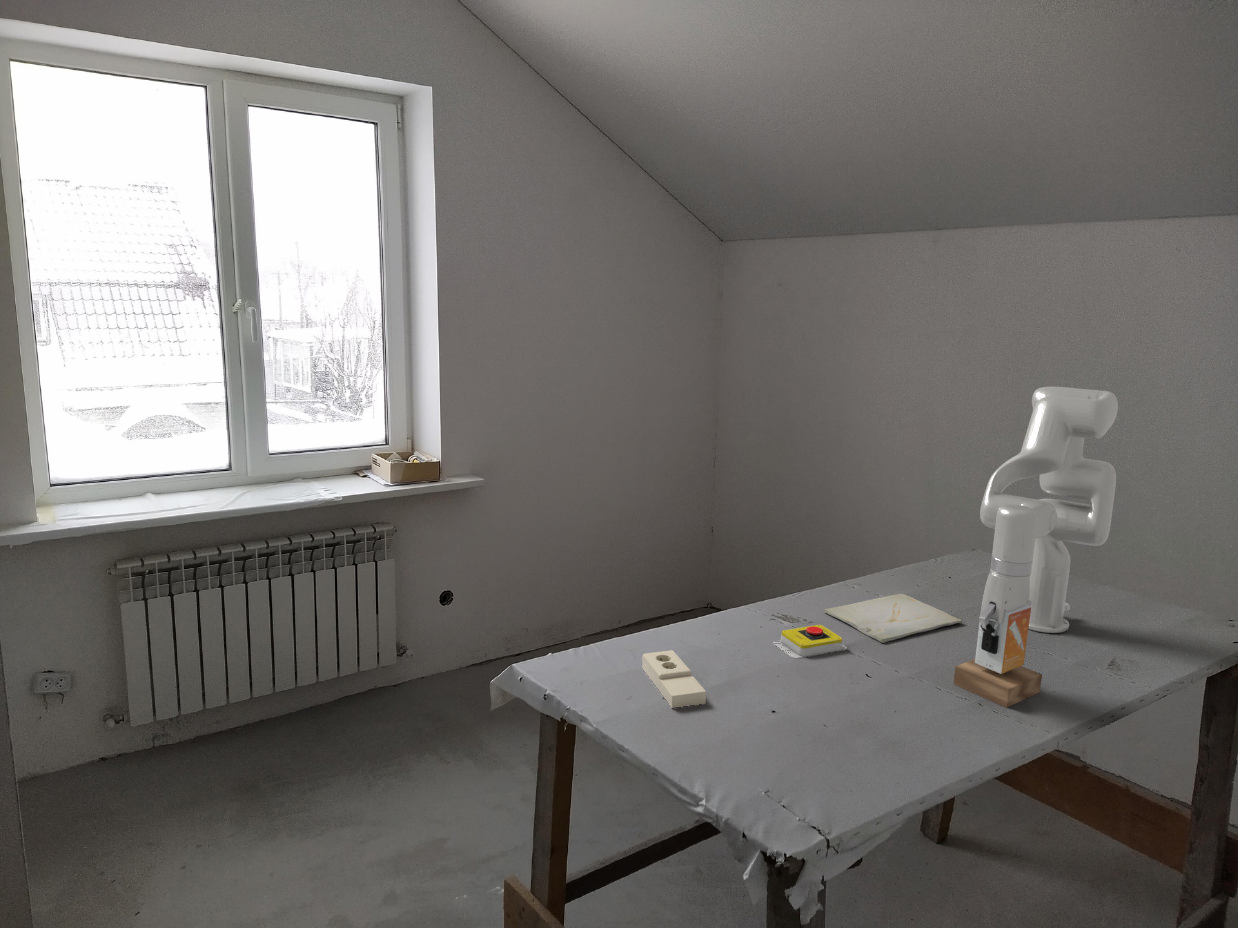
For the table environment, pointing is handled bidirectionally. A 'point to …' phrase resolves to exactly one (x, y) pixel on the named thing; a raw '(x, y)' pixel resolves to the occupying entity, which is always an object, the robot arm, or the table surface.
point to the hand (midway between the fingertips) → (1001, 646)
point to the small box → (1006, 642)
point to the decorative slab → (892, 617)
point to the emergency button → (809, 641)
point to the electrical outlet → (673, 679)
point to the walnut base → (998, 683)
